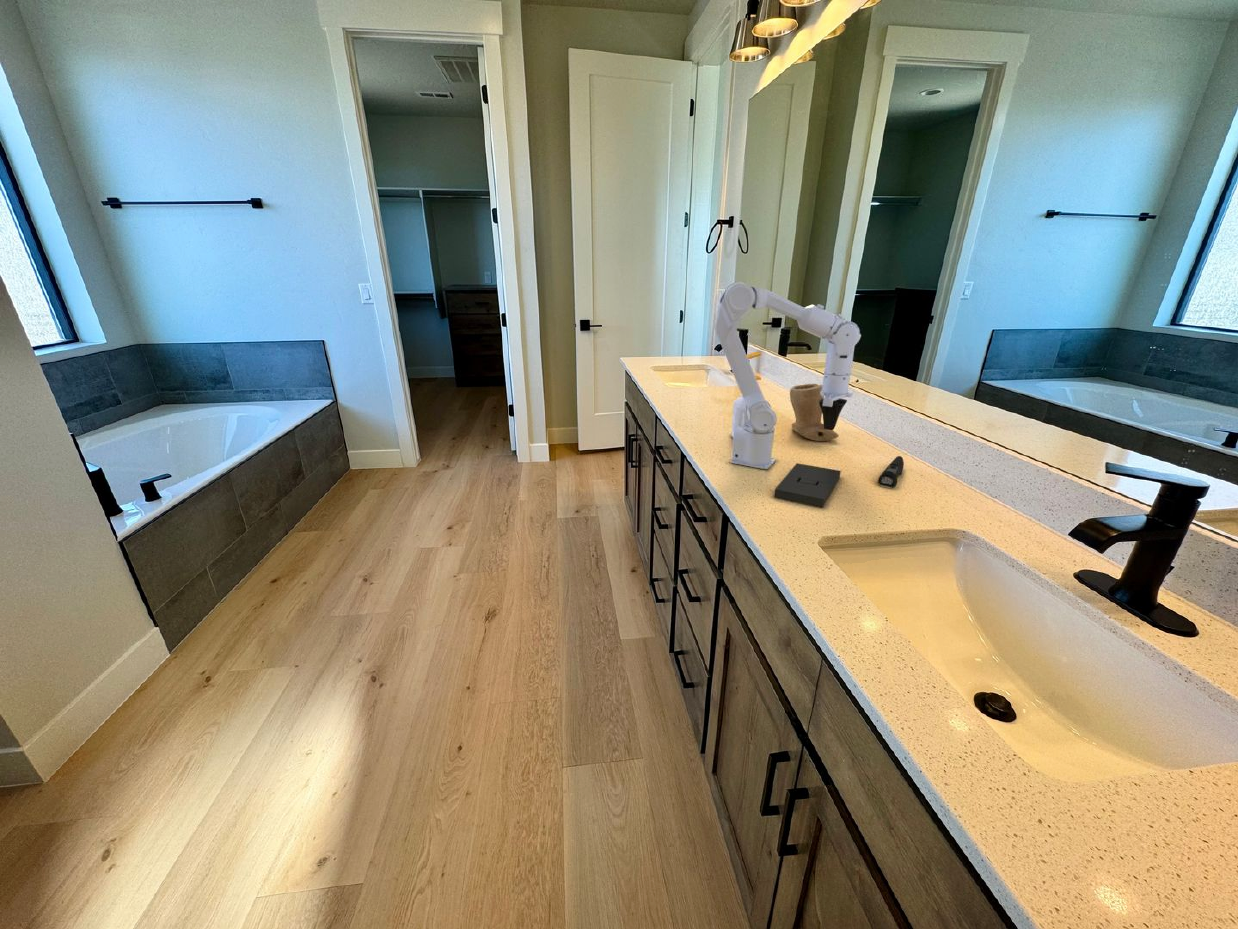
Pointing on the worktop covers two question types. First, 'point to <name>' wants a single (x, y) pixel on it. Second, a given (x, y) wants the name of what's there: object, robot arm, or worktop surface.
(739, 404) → the soap bottle
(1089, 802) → the worktop surface
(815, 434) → the brown boot
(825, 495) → the notch pad
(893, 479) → the electric trimmer
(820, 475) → the pad
